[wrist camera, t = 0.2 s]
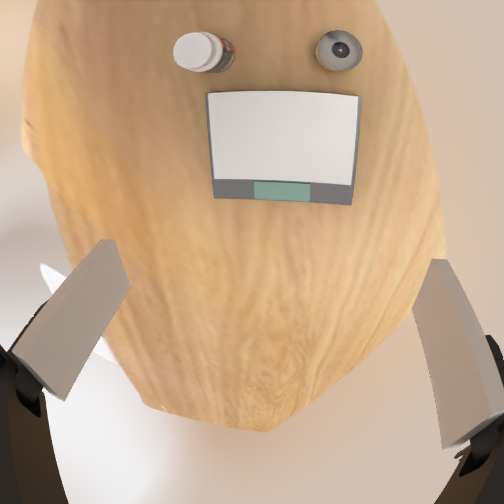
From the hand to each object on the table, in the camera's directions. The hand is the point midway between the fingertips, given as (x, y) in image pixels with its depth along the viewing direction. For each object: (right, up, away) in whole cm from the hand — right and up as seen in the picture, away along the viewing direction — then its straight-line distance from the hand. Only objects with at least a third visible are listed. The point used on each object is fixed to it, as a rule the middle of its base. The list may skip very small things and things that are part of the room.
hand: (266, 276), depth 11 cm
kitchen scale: (+3, +14, +23) cm, 27 cm away
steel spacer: (+9, +24, +15) cm, 30 cm away
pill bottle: (-5, +25, +17) cm, 31 cm away
